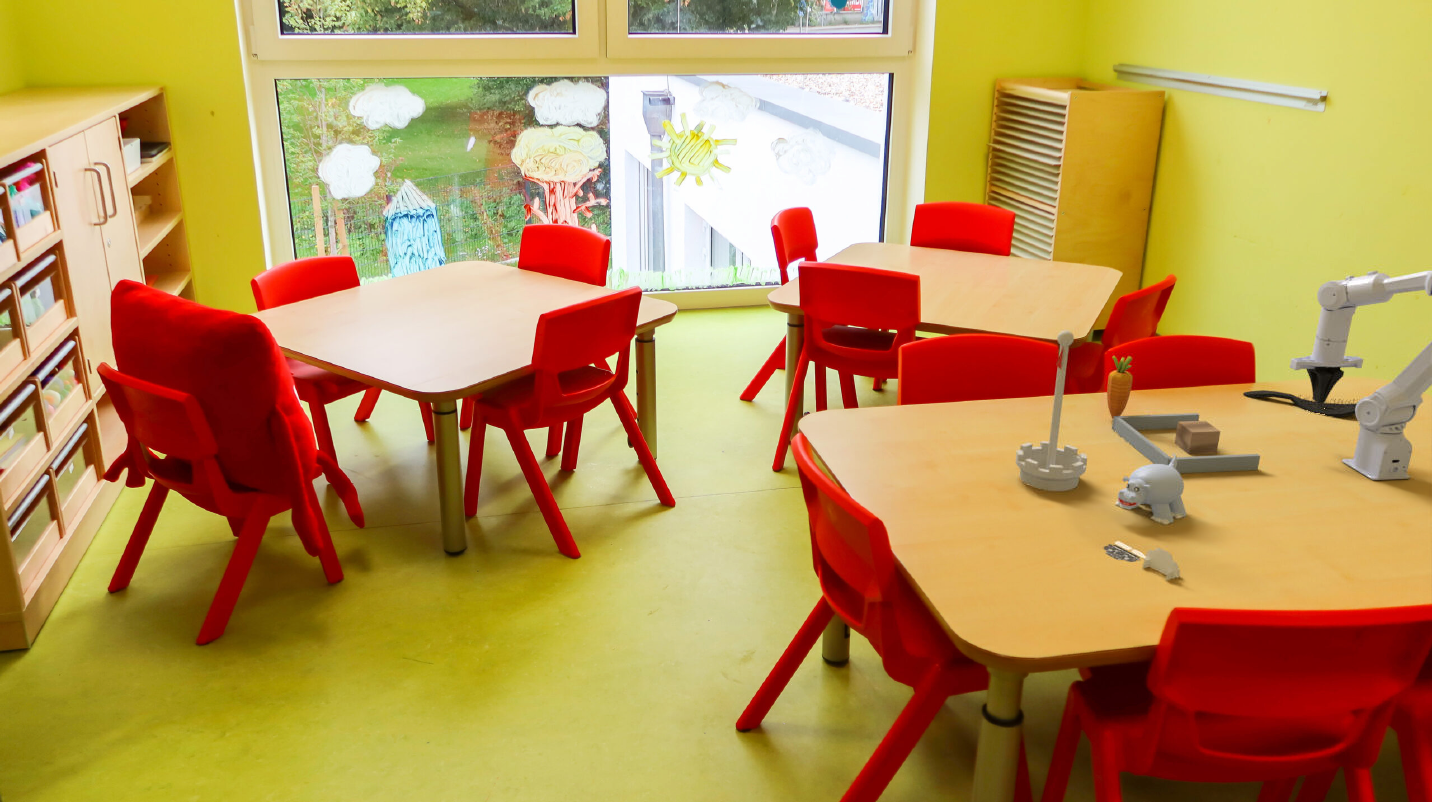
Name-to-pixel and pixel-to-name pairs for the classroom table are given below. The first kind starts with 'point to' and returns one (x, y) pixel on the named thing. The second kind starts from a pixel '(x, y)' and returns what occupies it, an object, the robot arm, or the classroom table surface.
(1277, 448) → the classroom table surface
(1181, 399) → the classroom table surface
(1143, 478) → the hippopotamus toy
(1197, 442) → the walnut block
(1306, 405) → the hairbrush
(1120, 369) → the carrot
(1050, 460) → the flag stand
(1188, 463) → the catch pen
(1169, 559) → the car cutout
